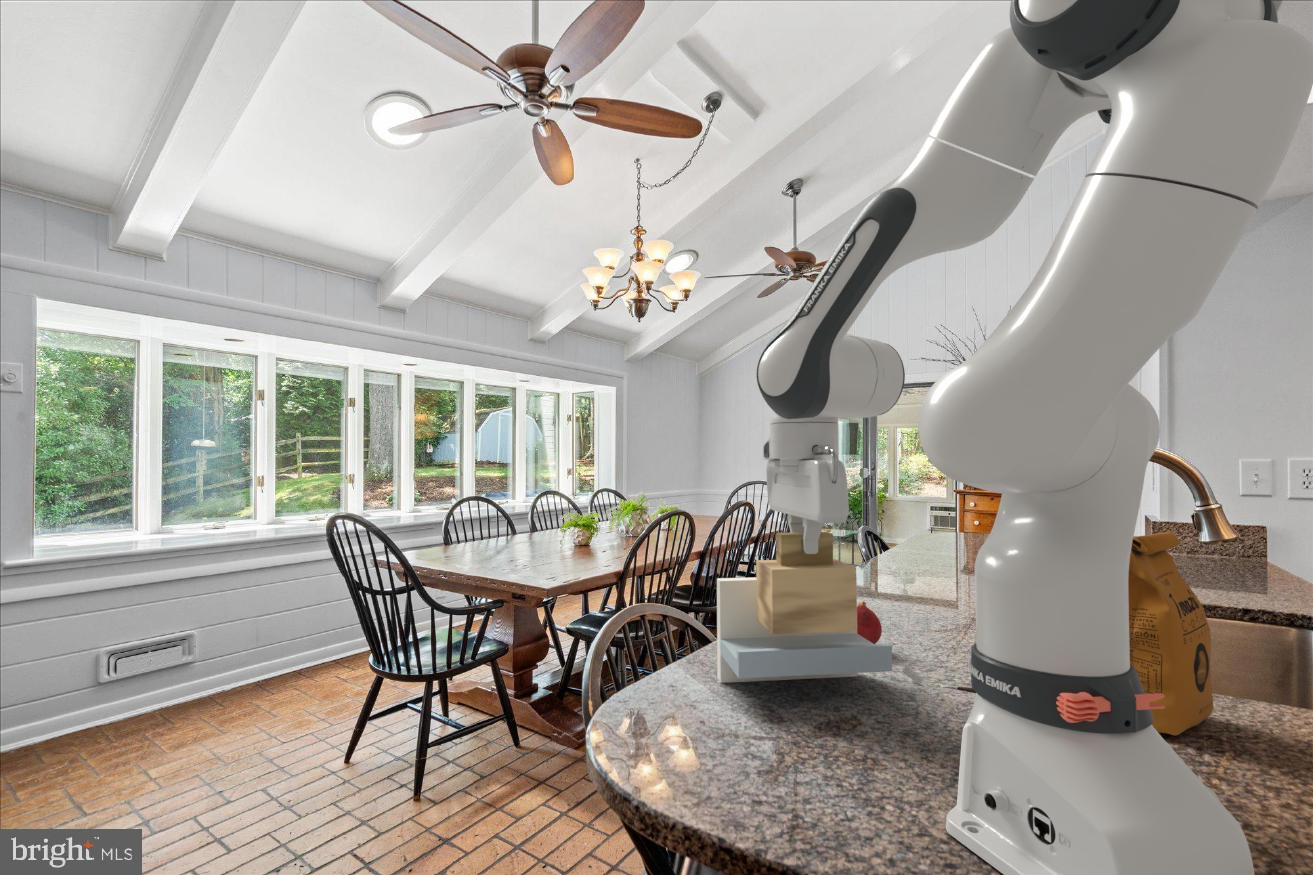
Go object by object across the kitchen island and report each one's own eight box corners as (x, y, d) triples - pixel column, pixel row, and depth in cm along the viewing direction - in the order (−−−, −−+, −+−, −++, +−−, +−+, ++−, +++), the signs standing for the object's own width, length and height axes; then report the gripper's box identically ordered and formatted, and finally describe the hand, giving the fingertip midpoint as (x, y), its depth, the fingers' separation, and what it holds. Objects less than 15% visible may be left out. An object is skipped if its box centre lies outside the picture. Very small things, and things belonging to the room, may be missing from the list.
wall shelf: (892, 703, 79) (891, 591, 80) (739, 711, 77) (738, 596, 77) (851, 671, 91) (850, 574, 92) (717, 677, 89) (716, 578, 89)
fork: (1037, 708, 78) (1036, 692, 78) (902, 685, 87) (902, 670, 87) (1036, 701, 81) (1036, 685, 81) (905, 679, 89) (905, 665, 89)
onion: (884, 658, 97) (883, 606, 98) (846, 655, 99) (845, 604, 99) (879, 647, 103) (878, 598, 103) (842, 645, 104) (842, 596, 105)
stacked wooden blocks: (856, 631, 79) (855, 535, 79) (772, 634, 78) (772, 537, 78) (834, 617, 86) (833, 529, 86) (756, 619, 85) (756, 530, 85)
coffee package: (1232, 725, 72) (1225, 534, 73) (1179, 749, 66) (1172, 541, 67) (1134, 697, 81) (1129, 526, 82) (1080, 715, 75) (1074, 532, 76)
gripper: (862, 444, 73) (863, 564, 72) (800, 447, 93) (800, 540, 93) (809, 444, 72) (810, 565, 72) (759, 447, 92) (759, 541, 92)
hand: (804, 551), depth 82 cm, fingers closed on stacked wooden blocks
